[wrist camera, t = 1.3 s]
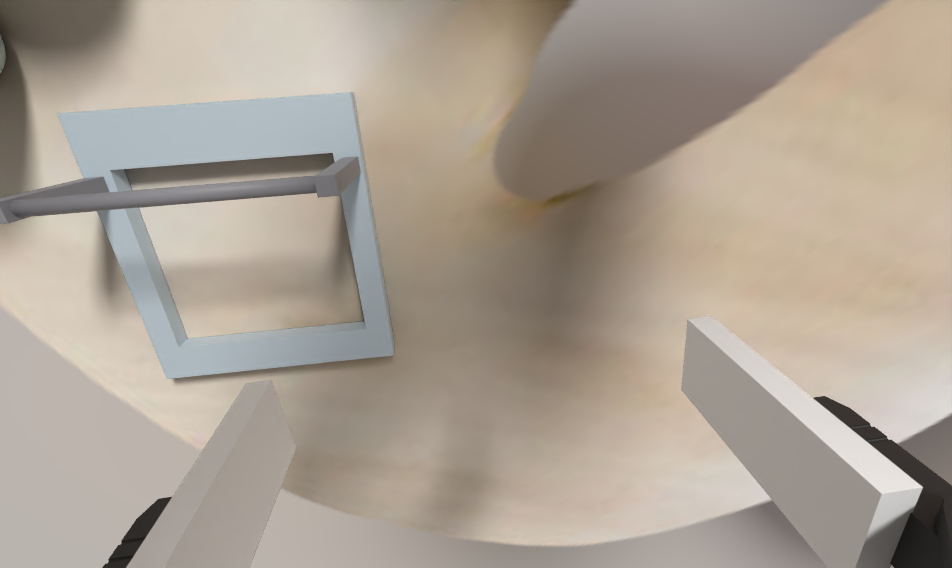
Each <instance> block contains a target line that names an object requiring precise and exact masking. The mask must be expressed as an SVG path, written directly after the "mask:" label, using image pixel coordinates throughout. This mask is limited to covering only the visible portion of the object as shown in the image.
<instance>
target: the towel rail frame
mask: <svg viewBox="0 0 952 568" xmlns="http://www.w3.org/2000/svg"><path fill="white" fill-rule="evenodd" d="M57 115H58V118H59V120H60V123H61V125H62V127H63V130H64V132H65V135H66V137H67V139H68V142H69V144H70V147H71V149H72V152H73V154H74V156H75V159H76V161H77V164H78V166H79V168H80V171H81V173H82V176H83V178H84V179H79V180H75V181H71V182H67V183H62V184H58V185H54V186H50V187H45V188H41V189H37V190H32V191H28V192H24V193H20V194H15V195H11V196H7V197H3V198H0V224H6V223H11V222H14V221H18V220H21V219H24V218H28V217H31V216H43V215H55V214H67V213H79V212H91V211H97V212H98V214H99V217H100V219H101V221H102V224H103V226H104V229H105V231H106V233H107V236H108V238H109V241H110V243H111V246H112V248H113V250H114V253H115V255H116V258H117V260H118V262H119V265H120V267H121V270H122V272H123V274H124V277H125V279H126V282H127V284H128V286H129V289H130V291H131V294H132V296H133V299H134V301H135V303H136V306H137V308H138V311H139V313H140V315H141V318H142V320H143V323H144V325H145V327H146V330H147V332H148V335H149V337H150V340H151V342H152V344H153V347H154V349H155V352H156V354H157V356H158V359H159V361H160V364H161V366H162V368H163V371H164V373H165V376H166V378H167V379H172V378H181V377H191V376H201V375H210V374H220V373H230V372H239V371H249V370H259V369H268V368H278V367H288V366H297V365H307V364H317V363H326V362H336V361H346V360H355V359H365V358H375V357H384V356H394V350H395V344H394V338H393V332H392V325H391V319H390V313H389V307H388V301H387V295H386V288H385V282H384V276H383V270H382V264H381V258H380V251H379V245H378V239H377V233H376V227H375V221H374V214H373V208H372V202H371V196H370V190H369V184H368V177H367V171H366V165H365V159H364V153H363V147H362V140H361V134H360V128H359V122H358V116H357V110H356V103H355V97H354V93H351V92H350V93H336V94H322V95H308V96H294V97H280V98H266V99H251V100H237V101H223V102H209V103H195V104H181V105H167V106H153V107H139V108H125V109H111V110H97V111H83V112H69V113H57ZM323 153H333V157H334V162H335V163H333V164H332V165H330V166H329V167H327V168H326V169H324V170H323V171H321V172H320V173H318V174H317V175H315V176H304V177H292V178H280V179H267V180H255V181H243V182H230V183H218V184H206V185H193V186H181V187H169V188H156V189H144V190H132V189H131V186H130V184H129V181H128V178H127V176H126V173H125V170H124V169H132V168H145V167H158V166H170V165H183V164H196V163H209V162H221V161H234V160H247V159H260V158H272V157H285V156H298V155H311V154H323ZM308 193H317V196H318V197H329V196H339V195H340V194H341V199H342V204H343V210H344V215H345V220H346V225H347V231H348V236H349V241H350V247H351V252H352V257H353V262H354V268H355V273H356V278H357V284H358V289H359V294H360V300H361V305H362V310H363V315H364V321H363V322H353V323H342V324H332V325H322V326H312V327H302V328H292V329H282V330H272V331H262V332H252V333H241V334H231V335H221V336H211V337H201V338H191V339H188V338H187V335H186V333H185V330H184V327H183V325H182V322H181V319H180V317H179V314H178V311H177V309H176V306H175V303H174V301H173V298H172V296H171V293H170V290H169V288H168V285H167V282H166V280H165V277H164V274H163V272H162V269H161V266H160V264H159V261H158V258H157V256H156V253H155V250H154V248H153V245H152V242H151V240H150V237H149V234H148V232H147V229H146V226H145V224H144V221H143V218H142V216H141V213H140V210H139V208H140V207H152V206H164V205H176V204H188V203H200V202H212V201H224V200H236V199H248V198H260V197H272V196H284V195H296V194H308Z"/></svg>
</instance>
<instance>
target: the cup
mask: <svg viewBox="0 0 952 568" xmlns="http://www.w3.org/2000/svg"><path fill="white" fill-rule="evenodd" d="M5 60H6V52H5V46H4V43H3V40H2V37H1V35H0V74H1V72H2V70H3V68H4V66H5Z"/></svg>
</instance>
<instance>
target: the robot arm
mask: <svg viewBox="0 0 952 568" xmlns="http://www.w3.org/2000/svg"><path fill="white" fill-rule="evenodd" d="M681 390H682V391H683V393H684V394H685V395H686V396H687V397H688V399H689V400H690V401H691V402H692V403H693V405H694V406H695V407H696V408H697V409H698V411H699V412H700V413H701V414H702V416H703V417H704V418H705V419H706V420H707V422H708V423H709V424H710V425H711V426H712V428H713V429H714V430H715V431H716V432H717V434H718V435H719V436H720V437H721V439H722V440H723V441H724V442H725V443H726V445H727V446H728V447H729V448H730V449H731V451H732V452H733V453H734V454H735V455H736V457H737V458H738V459H739V460H740V461H741V463H742V464H743V465H744V466H745V468H746V469H747V470H748V471H749V472H750V474H751V475H752V476H753V477H754V478H755V480H756V481H757V482H758V483H759V484H760V486H761V487H762V488H763V489H764V491H765V492H766V493H767V494H768V495H769V497H770V498H771V499H772V500H773V501H774V503H775V504H776V505H777V506H778V507H779V509H780V510H781V511H782V512H783V513H784V515H785V516H786V517H787V518H788V520H789V521H790V522H791V523H792V524H793V526H794V527H795V528H796V529H797V530H798V532H799V533H800V534H801V535H802V536H803V538H804V539H805V540H806V541H807V542H808V544H809V545H810V546H811V547H812V549H813V550H814V551H815V552H816V553H817V555H818V556H819V557H820V558H821V559H822V561H823V562H824V563H825V564H826V565H827V567H828V568H890V567H891V565H893V567H894V568H952V486H951V485H950V484H949V483H948V482H946V481H945V480H944V479H942V478H941V477H940V476H938V475H937V474H936V473H934V472H933V471H932V470H930V469H929V468H928V467H926V466H925V465H924V464H923V463H921V462H920V461H919V460H917V459H916V458H915V457H913V456H912V455H911V454H909V453H908V452H907V451H905V450H904V449H903V448H902V447H900V446H899V445H898V444H896V443H895V442H894V441H892V440H888V439H887V436H886V435H884V434H883V433H882V432H881V431H879V430H878V429H877V428H875V427H871V426H870V423H869V422H867V421H866V420H865V419H863V418H862V417H861V416H860V415H858V414H857V413H856V412H854V411H853V410H852V409H850V408H849V407H846V406H844V405H842V404H840V403H838V402H836V401H834V400H832V399H830V398H828V397H826V396H822V397H815V398H812V397H811V396H810V395H808V394H807V393H806V392H805V391H803V390H802V389H801V388H800V387H798V386H797V385H796V384H795V383H794V382H792V381H791V380H790V379H789V378H787V377H786V376H785V375H784V374H782V373H781V372H780V371H779V370H777V369H776V368H775V367H774V366H773V365H771V364H770V363H769V362H768V361H766V360H765V359H764V358H763V357H761V356H760V355H759V354H758V353H756V352H755V351H754V350H753V349H752V348H750V347H749V346H748V345H747V344H745V343H744V342H743V341H742V340H740V339H739V338H738V337H737V336H735V335H734V334H733V333H732V332H731V331H729V330H728V329H727V328H726V327H724V326H723V325H722V324H721V323H719V322H718V321H717V320H716V319H714V318H713V317H712V316H707V317H700V318H693V319H688V321H687V332H686V343H685V354H684V365H683V377H682V388H681ZM295 450H296V445H295V443H294V440H293V437H292V435H291V432H290V429H289V427H288V424H287V421H286V418H285V416H284V413H283V410H282V408H281V405H280V402H279V400H278V397H277V394H276V391H275V389H274V386H273V383H272V381H271V380H267V381H261V382H254V383H247V384H246V385H245V386H244V388H243V389H242V391H241V392H240V394H239V395H238V397H237V398H236V400H235V402H234V403H233V405H232V406H231V408H230V409H229V411H228V412H227V414H226V415H225V417H224V418H223V420H222V421H221V423H220V425H219V426H218V428H217V429H216V431H215V432H214V434H213V435H212V437H211V438H210V440H209V441H208V443H207V444H206V446H205V448H204V449H203V451H202V452H201V454H200V455H199V457H198V458H197V460H196V461H195V463H194V464H193V466H192V468H191V469H190V471H189V472H188V474H187V475H186V477H185V478H184V480H183V481H182V483H181V484H180V486H179V488H178V489H177V491H176V492H175V494H174V495H173V497H168V498H162V499H158V500H157V501H156V502H155V503H154V504H152V505H151V506H150V507H149V508H148V509H147V510H146V511H145V512H144V513H143V514H142V515H141V516H139V517H138V518H137V519H136V521H135V522H134V524H133V525H132V527H131V528H130V530H129V531H128V532H127V534H126V535H125V536H124V538H123V540H122V544H121V545H118V547H117V548H116V549H115V551H114V552H113V554H112V555H111V556H110V558H109V562H108V564H105V565H104V566H103V568H249V567H250V565H251V562H252V560H253V557H254V555H255V552H256V549H257V547H258V544H259V542H260V539H261V537H262V534H263V531H264V529H265V527H266V524H267V521H268V519H269V516H270V514H271V511H272V509H273V506H274V503H275V501H276V499H277V496H278V493H279V491H280V488H281V486H282V483H283V481H284V478H285V476H286V473H287V470H288V468H289V465H290V463H291V460H292V458H293V455H294V453H295Z"/></svg>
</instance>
